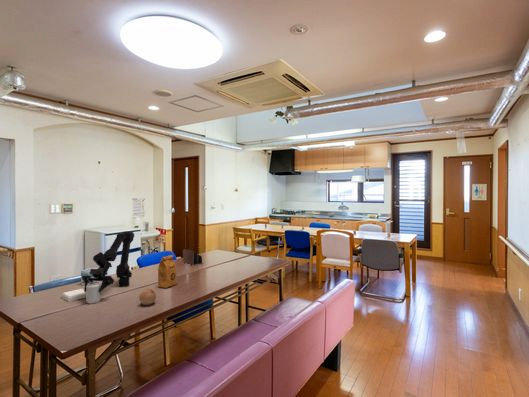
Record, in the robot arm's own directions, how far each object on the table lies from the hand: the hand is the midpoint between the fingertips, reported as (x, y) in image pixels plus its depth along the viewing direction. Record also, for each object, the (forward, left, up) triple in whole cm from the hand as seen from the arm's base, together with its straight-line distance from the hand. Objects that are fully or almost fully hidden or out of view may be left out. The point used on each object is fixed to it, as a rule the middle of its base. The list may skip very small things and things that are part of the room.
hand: (91, 292), depth 183 cm
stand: (+12, -15, -7) cm, 21 cm away
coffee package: (-45, -20, -7) cm, 49 cm away
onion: (-33, +14, -7) cm, 36 cm away
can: (-1, -1, -7) cm, 7 cm away
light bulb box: (+10, -46, -7) cm, 48 cm away
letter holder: (-68, -89, -7) cm, 112 cm away
